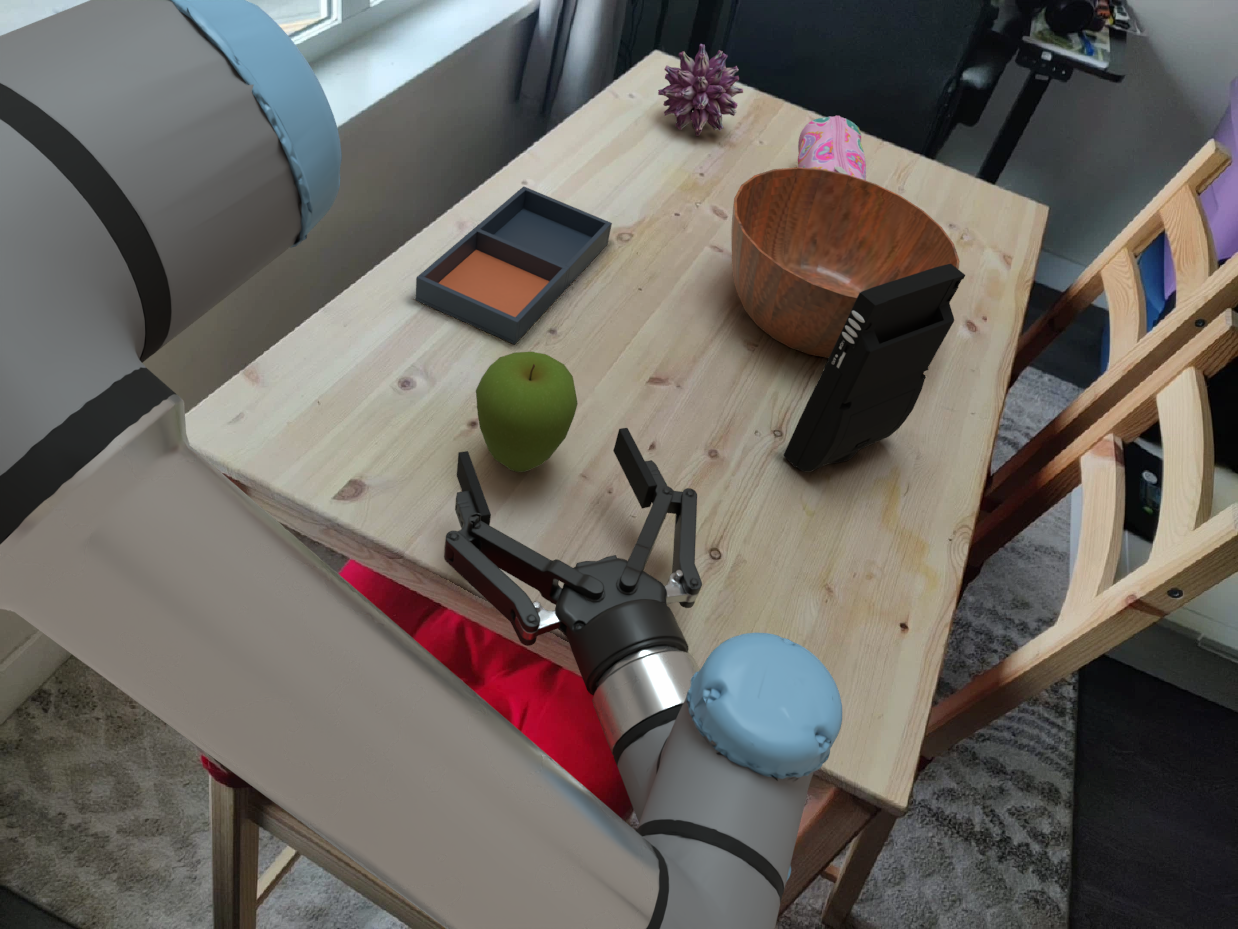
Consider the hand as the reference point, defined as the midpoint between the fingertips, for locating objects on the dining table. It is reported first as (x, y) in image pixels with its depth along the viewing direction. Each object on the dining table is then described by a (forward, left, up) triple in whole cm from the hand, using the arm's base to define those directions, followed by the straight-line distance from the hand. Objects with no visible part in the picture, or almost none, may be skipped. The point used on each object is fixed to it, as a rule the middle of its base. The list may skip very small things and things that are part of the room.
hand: (543, 450), depth 74 cm
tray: (+10, +32, -6) cm, 34 cm away
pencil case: (+56, +38, -7) cm, 68 cm away
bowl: (+41, +18, -7) cm, 45 cm away
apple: (0, +5, -7) cm, 8 cm away
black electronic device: (+31, -2, -7) cm, 32 cm away
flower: (+47, +60, -7) cm, 76 cm away
